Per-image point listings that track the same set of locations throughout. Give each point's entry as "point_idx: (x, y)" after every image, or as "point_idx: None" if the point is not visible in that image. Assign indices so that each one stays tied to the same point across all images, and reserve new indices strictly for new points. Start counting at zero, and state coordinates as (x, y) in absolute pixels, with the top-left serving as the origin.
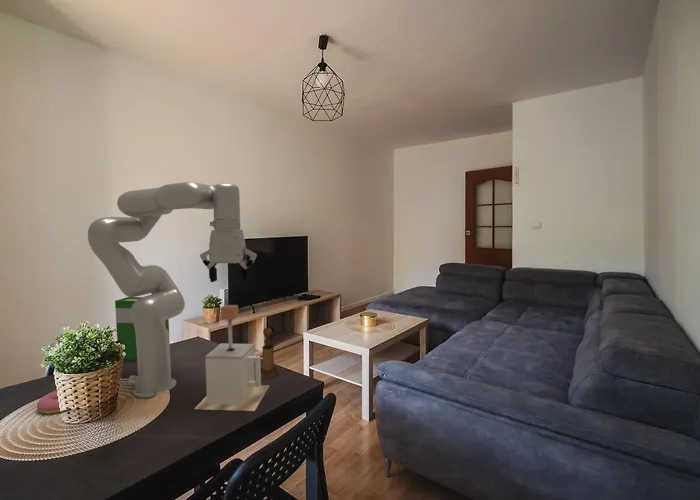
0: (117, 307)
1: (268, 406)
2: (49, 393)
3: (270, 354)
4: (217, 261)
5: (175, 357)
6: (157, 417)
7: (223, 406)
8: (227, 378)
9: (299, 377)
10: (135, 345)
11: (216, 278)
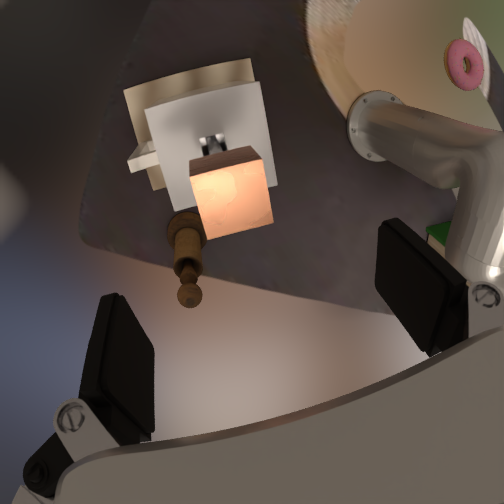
0: None
1: (115, 124)
2: (482, 69)
3: (175, 253)
4: (454, 367)
5: None
6: (305, 33)
7: (196, 82)
8: (190, 93)
9: (125, 248)
10: None
11: (382, 289)
